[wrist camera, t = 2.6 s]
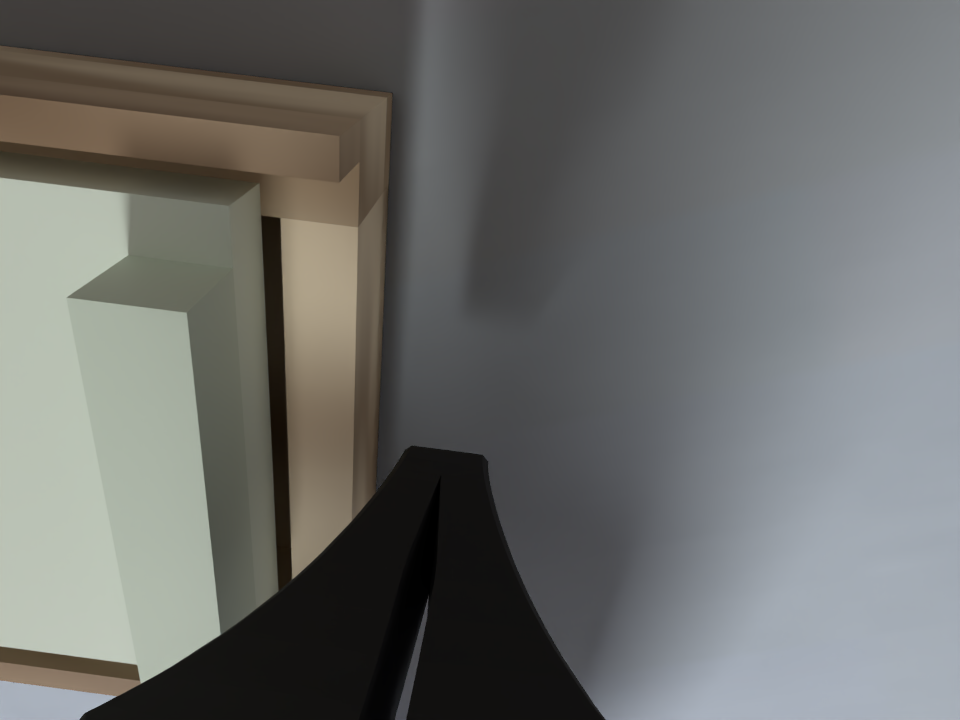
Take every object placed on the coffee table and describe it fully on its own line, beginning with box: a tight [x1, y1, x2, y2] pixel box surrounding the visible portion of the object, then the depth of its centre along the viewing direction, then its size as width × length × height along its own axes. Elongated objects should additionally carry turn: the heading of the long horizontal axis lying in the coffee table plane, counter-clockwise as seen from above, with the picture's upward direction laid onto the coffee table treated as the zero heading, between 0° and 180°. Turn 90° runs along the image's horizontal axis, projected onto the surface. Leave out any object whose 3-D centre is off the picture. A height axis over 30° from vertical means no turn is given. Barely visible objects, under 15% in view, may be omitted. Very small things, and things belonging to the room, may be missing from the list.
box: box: [0, 46, 393, 696], centre depth 14 cm, size 12×14×4 cm
